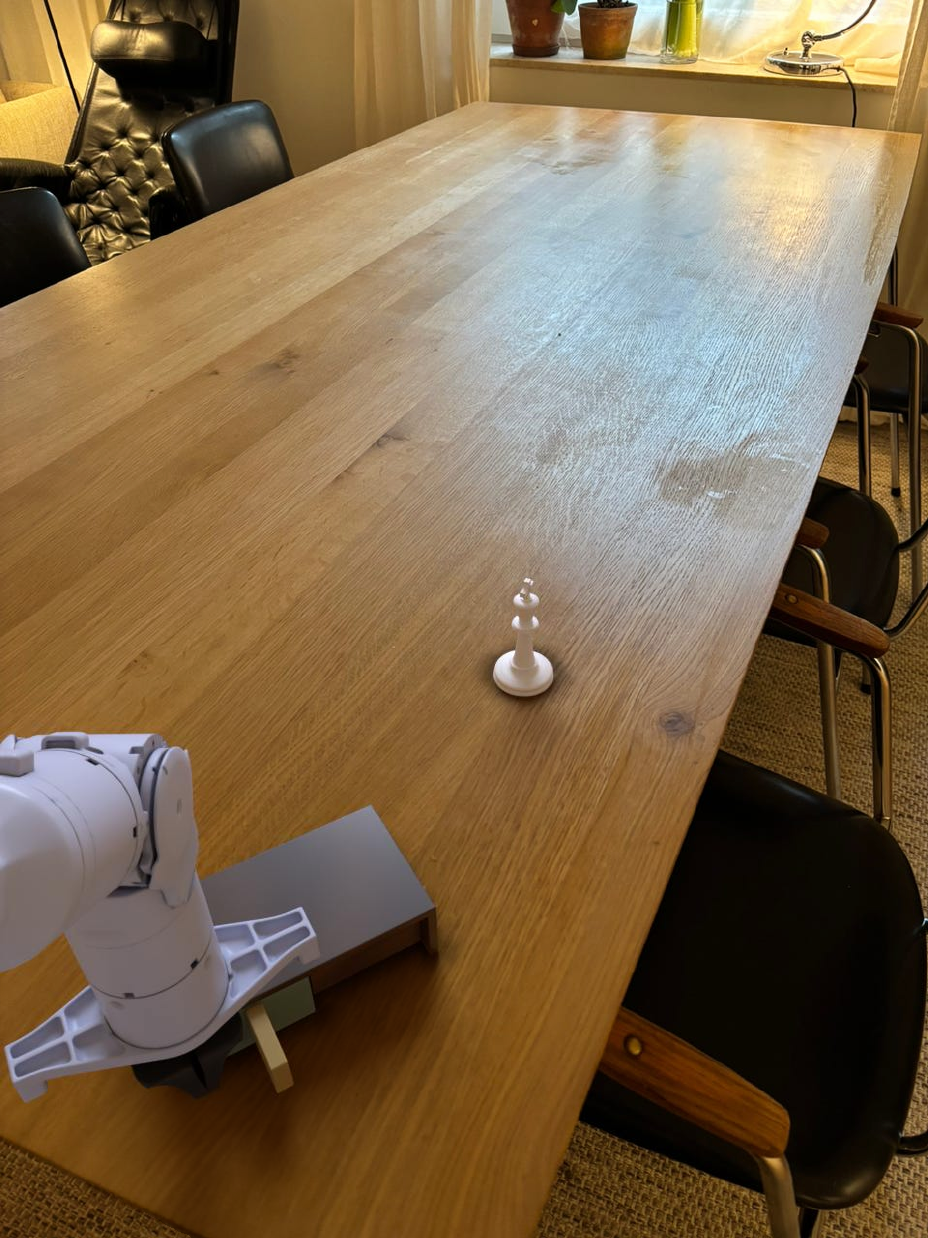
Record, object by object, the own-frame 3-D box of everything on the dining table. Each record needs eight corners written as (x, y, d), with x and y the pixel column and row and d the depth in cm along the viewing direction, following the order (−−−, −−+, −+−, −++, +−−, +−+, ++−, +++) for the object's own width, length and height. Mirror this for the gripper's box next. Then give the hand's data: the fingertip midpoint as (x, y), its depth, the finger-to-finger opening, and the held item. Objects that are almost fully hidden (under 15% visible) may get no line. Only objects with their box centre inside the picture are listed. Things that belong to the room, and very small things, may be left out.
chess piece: (561, 665, 82) (569, 570, 76) (540, 704, 79) (545, 608, 72) (507, 648, 84) (509, 554, 77) (483, 686, 81) (484, 590, 74)
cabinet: (193, 1079, 57) (175, 1037, 53) (148, 955, 63) (130, 910, 59) (438, 952, 63) (436, 907, 59) (376, 849, 69) (371, 803, 65)
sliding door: (230, 1131, 54) (218, 1099, 52) (203, 1059, 57) (190, 1025, 55) (343, 1069, 57) (337, 1036, 54) (312, 1003, 60) (304, 968, 57)
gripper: (267, 810, 49) (299, 955, 58) (-41, 942, 44) (46, 1080, 53) (324, 918, 45) (350, 1058, 54) (-13, 1081, 39) (78, 1207, 48)
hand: (202, 1077), depth 53 cm, fingers closed
